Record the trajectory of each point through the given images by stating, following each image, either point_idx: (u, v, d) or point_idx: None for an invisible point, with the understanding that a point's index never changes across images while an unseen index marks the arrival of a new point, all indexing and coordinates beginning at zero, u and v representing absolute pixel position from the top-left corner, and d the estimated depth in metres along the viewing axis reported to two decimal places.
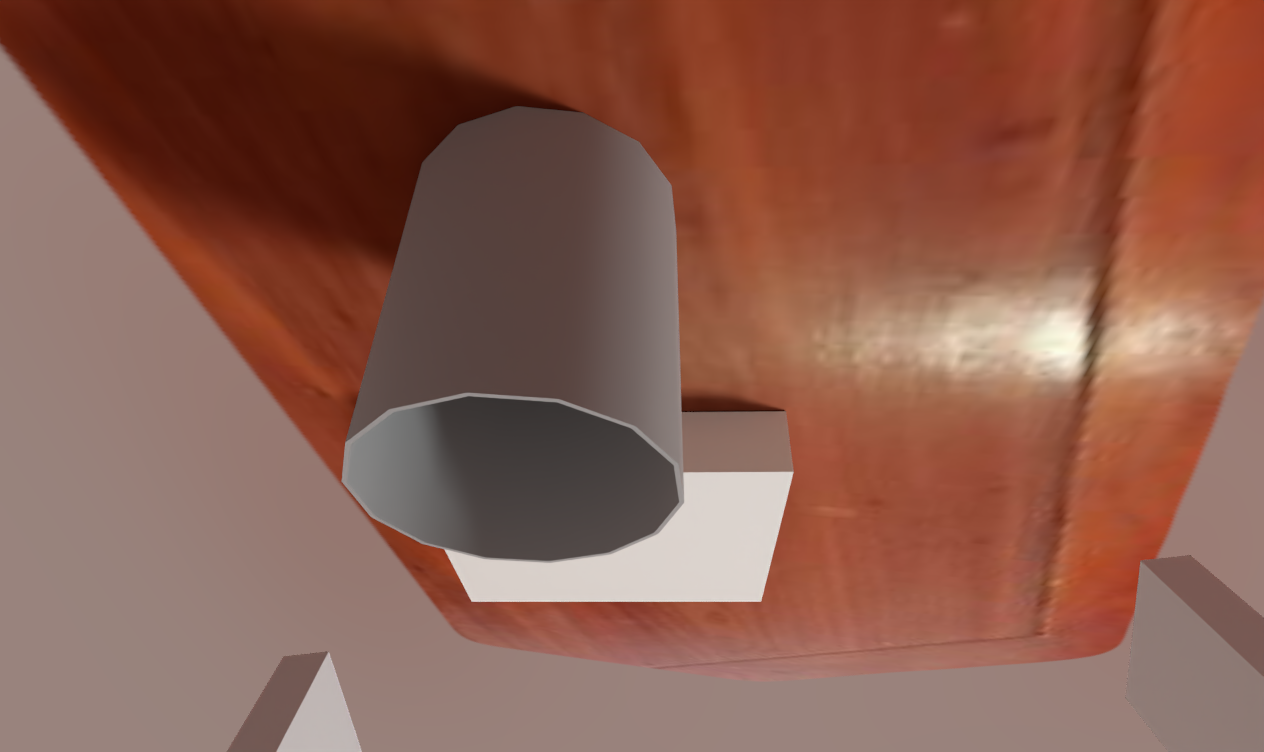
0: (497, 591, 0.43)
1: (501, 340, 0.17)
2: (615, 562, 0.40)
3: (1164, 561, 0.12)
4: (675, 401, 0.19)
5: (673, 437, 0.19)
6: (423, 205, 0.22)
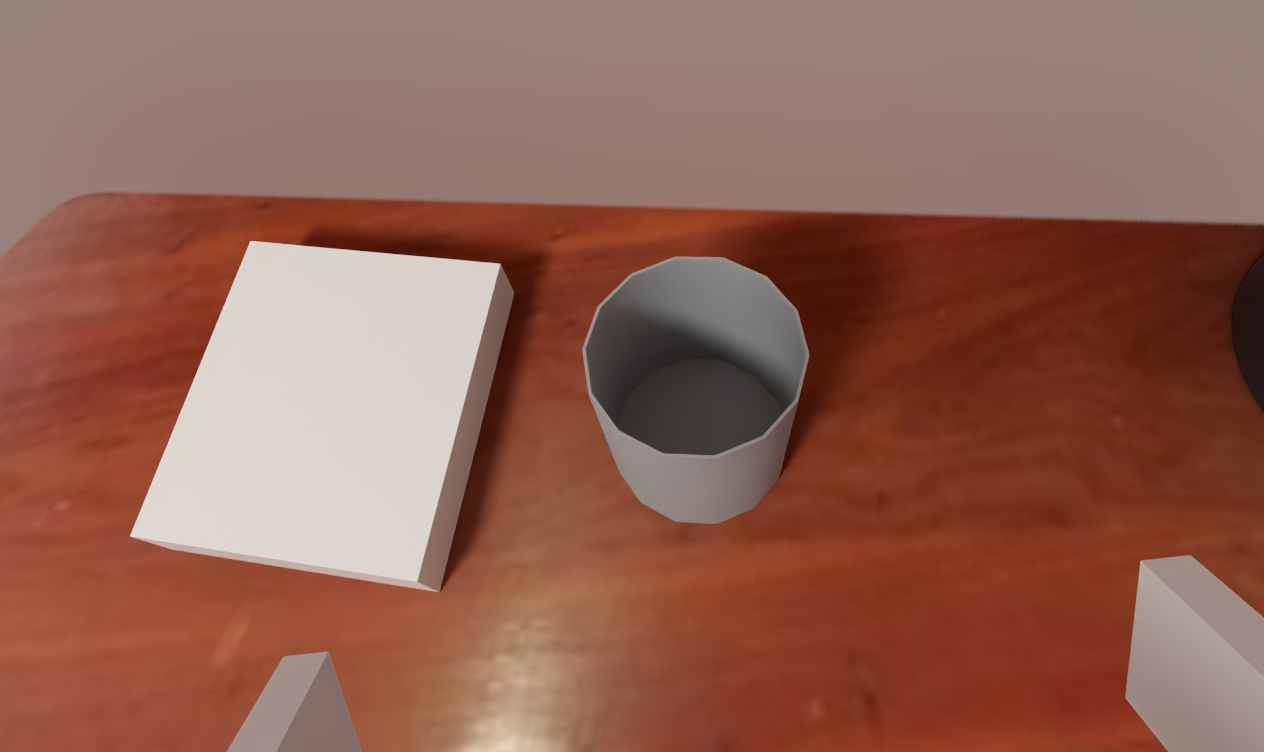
0: (263, 270, 0.41)
1: None
2: (287, 394, 0.38)
3: (1164, 561, 0.12)
4: (717, 472, 0.29)
5: (721, 461, 0.28)
6: None
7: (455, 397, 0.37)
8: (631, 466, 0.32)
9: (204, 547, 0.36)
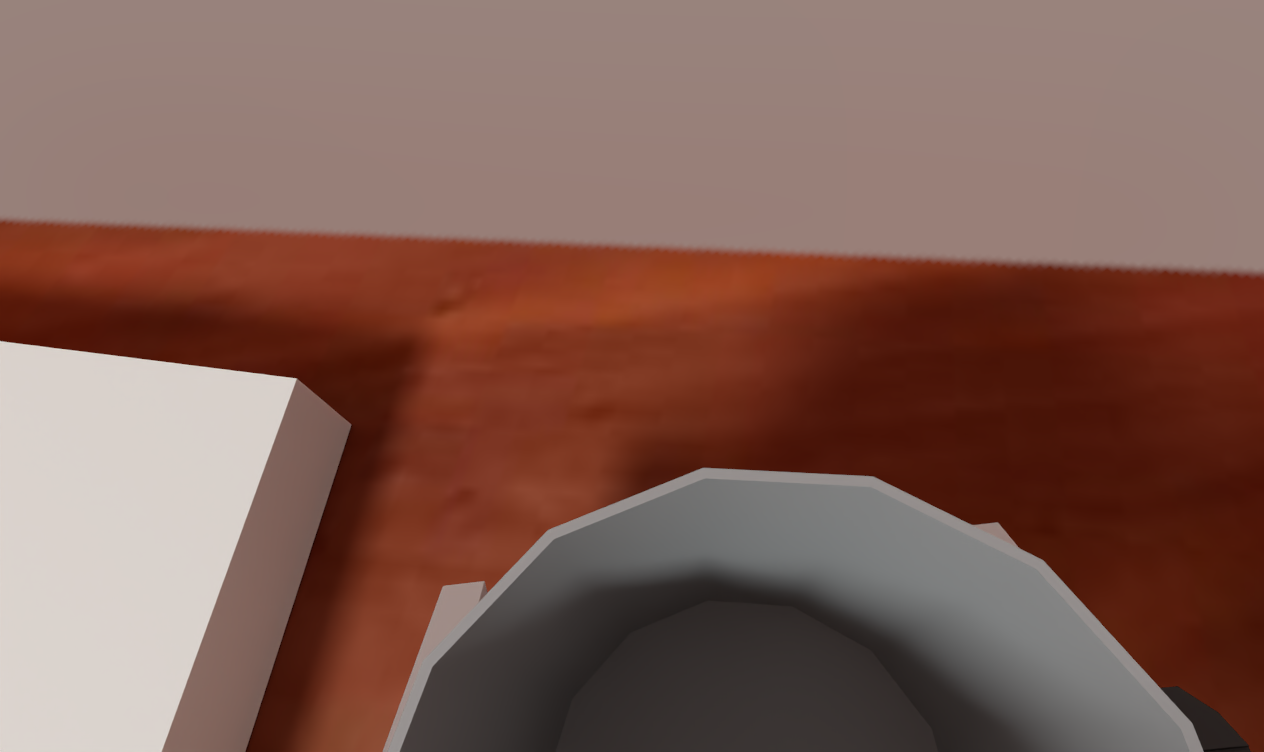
0: None
1: None
2: None
3: None
4: None
5: None
6: None
7: (145, 729, 0.15)
8: None
9: None
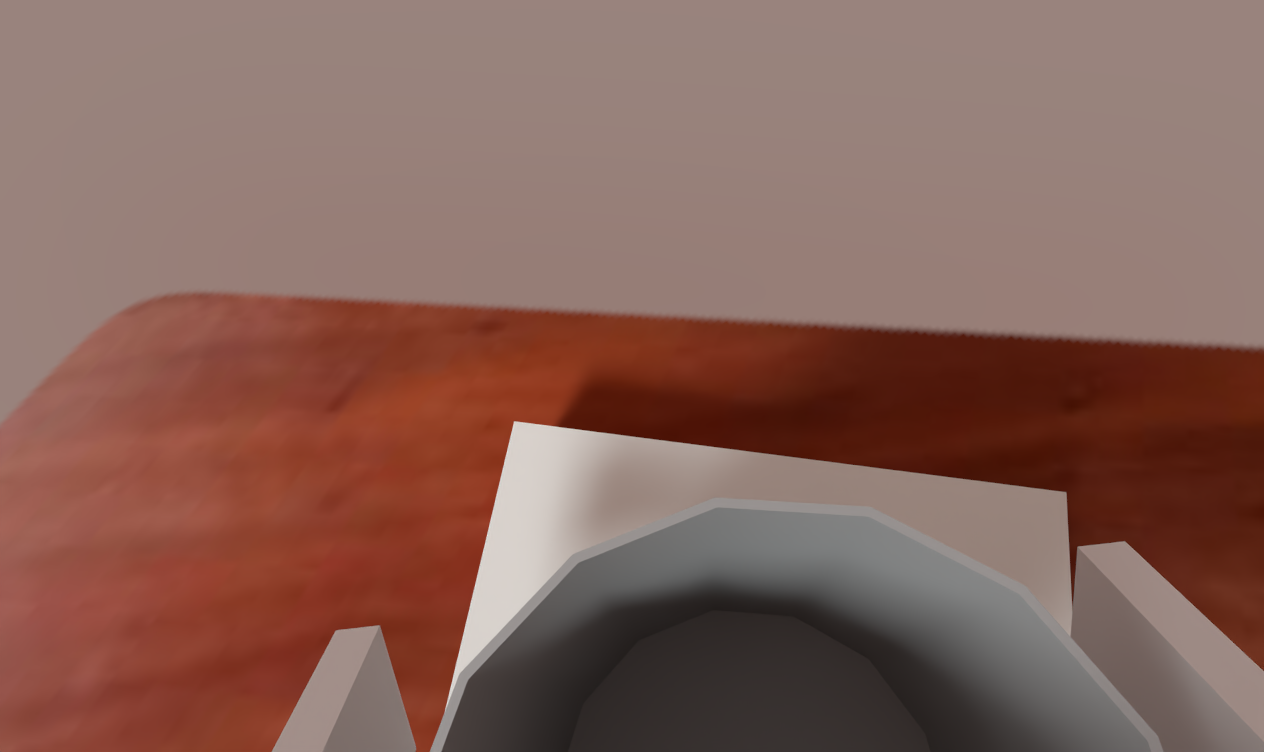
0: (552, 488, 0.20)
1: None
2: None
3: (1099, 547, 0.13)
4: None
5: None
6: None
7: None
8: None
9: None
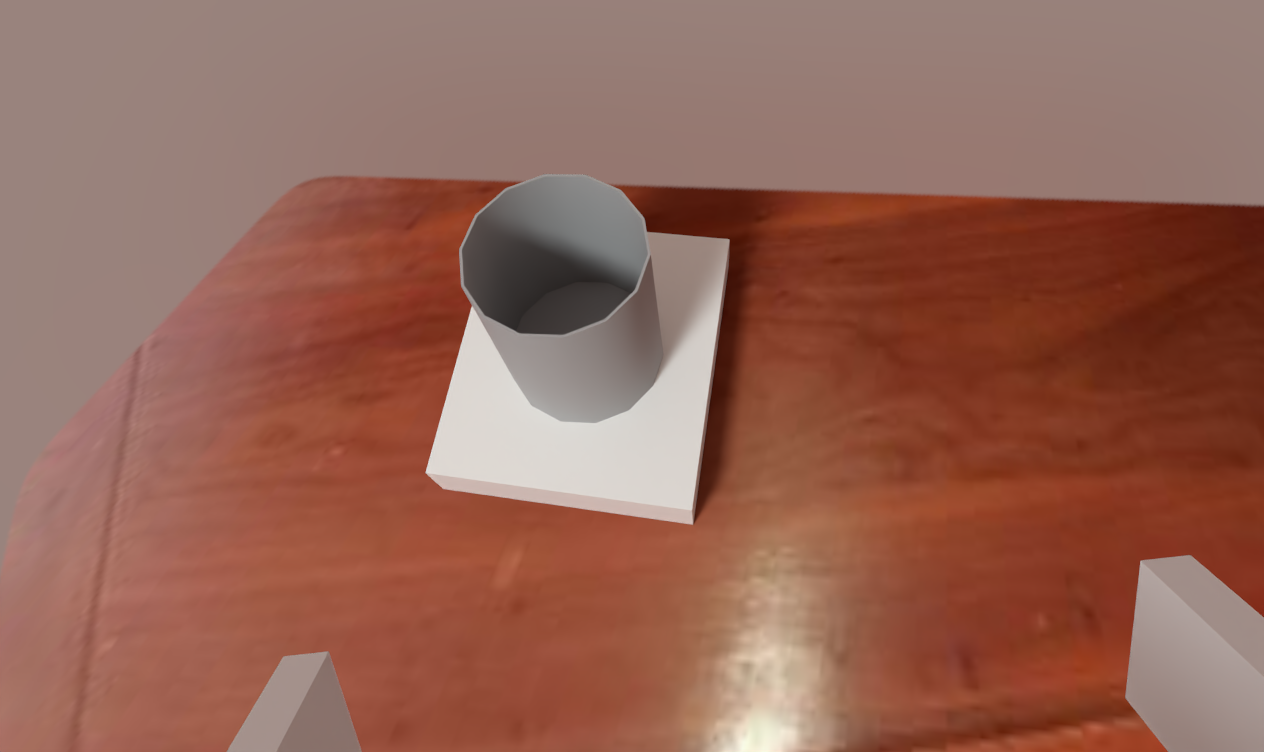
0: None
1: (649, 282, 0.35)
2: None
3: (1164, 561, 0.12)
4: (572, 355, 0.34)
5: (571, 342, 0.33)
6: None
7: (704, 354, 0.43)
8: (507, 357, 0.37)
9: (494, 482, 0.41)
